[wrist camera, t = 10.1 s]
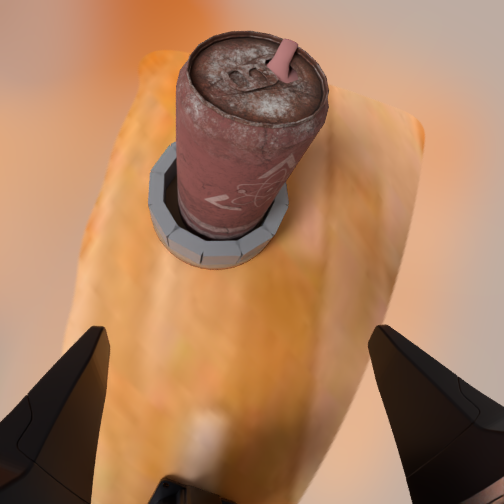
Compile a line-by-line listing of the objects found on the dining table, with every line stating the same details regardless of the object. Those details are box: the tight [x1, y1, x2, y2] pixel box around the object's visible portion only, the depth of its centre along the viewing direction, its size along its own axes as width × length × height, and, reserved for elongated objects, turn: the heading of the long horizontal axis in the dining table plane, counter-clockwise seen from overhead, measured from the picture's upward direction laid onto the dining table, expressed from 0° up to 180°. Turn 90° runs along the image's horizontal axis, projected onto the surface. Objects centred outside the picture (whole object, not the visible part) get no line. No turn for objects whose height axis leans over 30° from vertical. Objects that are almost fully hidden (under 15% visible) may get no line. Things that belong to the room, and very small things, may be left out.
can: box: [176, 31, 329, 241], centre depth 17 cm, size 6×6×14 cm
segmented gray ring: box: [148, 142, 289, 270], centre depth 23 cm, size 10×10×4 cm
